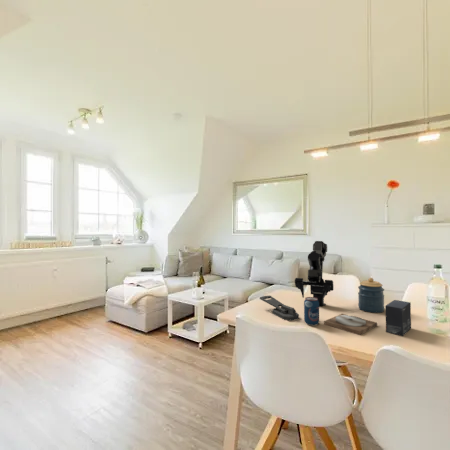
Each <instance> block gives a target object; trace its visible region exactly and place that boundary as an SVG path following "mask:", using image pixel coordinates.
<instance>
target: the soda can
mask: <svg viewBox="0 0 450 450" xmlns="http://www.w3.org/2000/svg"><path fill="white" fill-rule="evenodd" d="M303 315H304V316H303V319H304V320H303V321H304V323H305V324H306V325H307V326H312V327H313V326H318V325H319V323H320V306H319V301H318V299H317V298H315V297H313V296H307V297H304V301H303Z"/></svg>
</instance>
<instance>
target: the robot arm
mask: <svg viewBox="0 0 450 450" xmlns="http://www.w3.org/2000/svg"><path fill="white" fill-rule="evenodd" d="M327 252H328V244H327V243H325V242H324V241H323V240H315V241H314V243H313V244H312V251H310V253H308V255H307V261H308V264H309V269H308V270H307V280H304V278H303V277H296V278H294V285H295V288H297V289H298V290H300V292H301V297H302V299H305V286H309V287H310V288H309V289H310V295H312V297H315V298H317V299H318V301H319V308H320V307H324V306H326V305H327V303H324V302H325V300H324V299H325V297H326V296H327V295H328V293H330V292H331V291H334V289H335V288H334V286H335V285H334V281H333V280H332V279H324V278H323V275H324V274H323V272H324V262H325V257H326V255H327Z"/></svg>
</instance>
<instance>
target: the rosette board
mask: <svg viewBox="0 0 450 450" xmlns="http://www.w3.org/2000/svg"><path fill="white" fill-rule="evenodd" d="M323 323H324V324H323V325H325V326H328V327H332V328H336V329H339V330H342V331H345V332H349V333H353V334H356V335H359V336H362V335H363V334H365V333H366V332H369V331H371V330H372V329H374V328H375V327H377V326H378V322H377V321H373V320H368V319H365V318H362V317H359V316H356V315H348V314H345V313H340V314H337V315H335V316H332V317H331V318H328V319H326V320H324V321H323Z"/></svg>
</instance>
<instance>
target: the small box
mask: <svg viewBox="0 0 450 450" xmlns="http://www.w3.org/2000/svg"><path fill="white" fill-rule="evenodd" d="M411 306H412V304H411V301H406V300H405V301H404V300H403V301H402V300H398V299H394V300H392V301H390V302H389V303H387V304H386V305H384V312H385V332H386V333H387V334H393V335H397V336H400V337H404V336H405V335H406V334H407V333H408V332H409V331H410V330H411V329H412V317H411V316H412V315H411V313H412V310H411V309H412V307H411Z"/></svg>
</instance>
